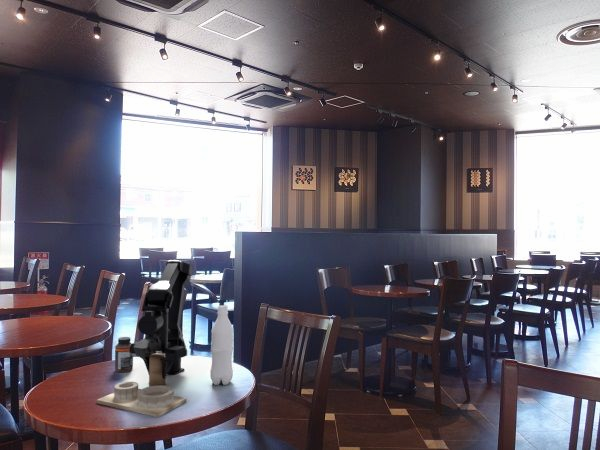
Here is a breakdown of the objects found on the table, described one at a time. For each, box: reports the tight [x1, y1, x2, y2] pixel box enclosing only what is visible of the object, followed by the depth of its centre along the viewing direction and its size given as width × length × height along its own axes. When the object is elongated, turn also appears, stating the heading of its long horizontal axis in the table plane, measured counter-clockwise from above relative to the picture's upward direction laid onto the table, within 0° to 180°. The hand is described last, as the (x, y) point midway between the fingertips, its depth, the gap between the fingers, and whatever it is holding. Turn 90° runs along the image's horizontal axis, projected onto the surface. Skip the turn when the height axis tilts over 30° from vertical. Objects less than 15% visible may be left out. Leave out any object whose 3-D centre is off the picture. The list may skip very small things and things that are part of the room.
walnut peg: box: [148, 353, 167, 387], centre depth 142 cm, size 5×5×10 cm
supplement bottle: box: [114, 336, 134, 373], centre depth 158 cm, size 6×6×11 cm
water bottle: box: [209, 304, 234, 386], centre depth 146 cm, size 7×7×25 cm
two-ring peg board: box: [96, 381, 187, 418], centre depth 129 cm, size 12×22×4 cm, turn 66°
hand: (157, 377), depth 142 cm, fingers closed on walnut peg, 5 cm apart
